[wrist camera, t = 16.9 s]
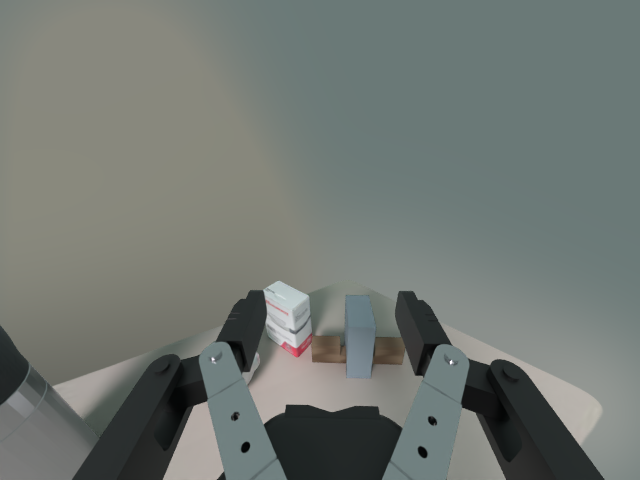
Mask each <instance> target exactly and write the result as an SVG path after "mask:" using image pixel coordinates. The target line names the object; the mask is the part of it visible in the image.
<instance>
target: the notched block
mask: <svg viewBox="0 0 640 480" xmlns="http://www.w3.org/2000/svg"><path fill="white" fill-rule="evenodd" d="M375 333H376V325H375V320H374V316H373V311H372V307H371V303H370V298H369V295H346V303H345V339H344V344H345V346H346V376H347V378H370V377H371V368H372V359H373V351H374V342H375Z"/></svg>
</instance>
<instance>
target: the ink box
mask: <svg viewBox="0 0 640 480" xmlns="http://www.w3.org/2000/svg"><path fill="white" fill-rule="evenodd" d="M263 291H264V295H265V301H266V306H267V319H266V322H265V323H266V328H267V334H268V337H269V338H271V339H272V340H273V341H275V342H276V343H277V344H279V345H280V346H282V347H283V348H284V349H286V350H287V351H288V352H290V353H291V354H293V355H294V356H295V357H299V356H300V355H301V354H302V353H303V352H304V350H305V349H306V348H307V347H308V346H309V345H310V344H311V342H312V326H311V313H310V300H309V296H308V295H306V294H304V293H302V292H300V291H298V290H297V289H294V288H293V287H290V286H289V285H286V284H285V283H283V282H281V281H276V282H275V283H273V284H272V285H270V286H268V287H267V288H265V289H264V290H263Z"/></svg>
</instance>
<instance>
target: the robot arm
mask: <svg viewBox="0 0 640 480" xmlns="http://www.w3.org/2000/svg"><path fill="white" fill-rule="evenodd" d="M395 317H396V322H397V325H398V328H399V331H400V333H401V336H402V339H403V342H404V345H405V348H406V351H407V353H408V356H409V359H410V362H411V365H412V368H413V371H414V373H415V376H423V378H424V379H423V380H422V382H421V385H420V387H419V390H418V392H417V395H416V397H415V400H414V402H413V405H412V407H411V410H410V412H409V415H408V417H407V420H406V422H405V425H404V427H403V428H401V427H400V426H399V425H398V424H397V423H395V422H394V421H392V420H391V419H389V418H387V417H385V416H382V415H380V414H379V409H378V407H376V406H354V407H350V408H347V409H343V410H340V411H336V412H328V411H325V410H322V409H319V408H316V407H313V406H310V405H286V410H285V413H281V414H279V415H277V416H275V417H273V418H272V419H270V420H269V421H267V422H266V423H265V424H264V425H263V423H262V420H261V418H260V415H259V413H258V411H257V408H256V406H255V403H254V401H253V399H252V396H251V394H250V391H249V389H248V386H247V384H246V382H245V379H244V378H243V377H242V373H243V372H250V370H251V367H252V364H253V361H254V357H255V354H256V351H257V348H258V345H259V341H260V338H261V335H262V332H263V329H264V325H265V322H266V319H267V306H266V301H265V295H264V291H263V290H250V292H249V293H248V296H247V298H246V299H240V300H239V301H238V302H237V303H236V304H235V305H234V307H233V309H232V311H231V313H230V314H229V316H228V319H227V320H226V323H225V324H224V326H223V328H222V330H221V332H220V334H219V336H218V338H217V340H216V342H215V343H213V344H211V345H209V346H208V347H206V348H205V349H204V350H203V351H202V353H201V354H200V355H198V356H195V357H191V358H187V359H184V360H180V358H179V357H178V356H177V355H174V354H169V355H165V356H162V357H160V358H158V359H157V360H155V361H154V362H153V363H151V364H150V365H149V367H148V368H147V369H146V371H145V372H144V374H143V375H142V377H141V378H140V380H139V381H138V383H137V384H136V385H135V387H134V388H133V390H132V391H131V393H130V394H129V396H128V397H127V399H126V400H125V402H124V403H123V405H122V406H121V408H120V409H119V411H118V412H117V414H116V415H115V416H114V418H113V419H112V421H111V422H110V424H109V425H108V427H107V428H106V430H105V431H104V433H103V434H102V436H101V437H100V438H99V437H98V436H97V435H96V434H95V433H94V432H93V430H92V429H91V428H90V427H89V426H88V425H87V424H86V423H85V422H84V420H83V419H82V418H81V417H80V416H79V415H78V414H77V413H76V412H75V411H74V410H73V409H72V408H71V407H70V406H69V404H68V403H67V402H66V401H65V400H64V399H63V398H62V397H61V396H60V395H59V394H58V393H57V392H56V391H55V389H54V388H53V387H52V386H50V384H49V383H48V382H47V381H46V380H45V379H44V378H43V377H42V376H41V375H40V374H39V373H38V372H37V371H36V370H35V368H34V367H32V365H31V364H30V363H29V362H28V361H27V360H26V359H25V358H24V357H23V356H22V355H21V354H20V352H19V351H18V350H17V349H16V347H15V345H14V344H13V342H12V340H11V339H10V337H9V336H8V334H7V333H6V332H5V331H4V329H3V328H2V327H1V326H0V480H163V477H164V475H165V473H166V470H167V468H168V466H169V463H170V461H171V458H172V456H173V454H174V451H175V449H176V447H177V444H178V442H179V439H180V437H181V435H182V432H183V430H184V428H185V425H186V423H187V420H188V418H189V416H190V413H191V411H192V409H193V406H194V405H197V404H200V403H203V402H206V401H207V402H208V407H209V411H210V415H211V419H212V423H213V427H214V431H215V435H216V439H217V444H218V448H219V452H220V456H221V460H222V464H223V468H224V472H223V473H222V474H221V475H220V477H219V478H218V479H217V480H446V477H447V472H448V468H449V463H450V459H451V454H452V450H453V445H454V441H455V436H456V432H457V427H458V423H459V419H460V414H461V409H462V408H465V409H468V410H471V411H473V412H475V413H476V415H477V417H478V419H479V421H480V423H481V426H482V428H483V430H484V432H485V434H486V437H487V439H488V441H489V443H490V445H491V447H492V450H493V452H494V454H495V456H496V458H497V460H498V463H499V465H500V467H501V469H502V471H503V474H504V476H505V478H506V480H604V478H603V477H602V476H601V474H600V473H599V472H598V470H597V469H596V467H595V466H594V465H593V463H592V462H591V460H590V459H589V458H588V456H587V455H586V454H585V452H584V451H583V450H582V448H581V447H580V446H579V444H578V443H577V441H576V440H575V439H574V437H573V436H572V435H571V433H570V432H569V431H568V429H567V428H566V427H565V425H564V424H563V422H562V421H561V420H560V418H559V417H558V416H557V414H556V413H555V412H554V410H553V409H552V407H551V406H550V405H549V403H548V402H547V401H546V399H545V398H544V397H543V395H542V394H541V393H540V391H539V390H538V388H537V387H536V386H535V384H534V383H533V382H532V380H531V379H530V378H529V376H528V375H527V374H526V373H525V372H524V371H523V370H522V369H521V368H520V367H518V366H517V365H515V364H513V363H511V362H509V361H506V360H501V359H497V360H494V361H492V363H491V365H487V364H484V363H480V362H477V361H473V360H470V359H468V358H467V357H466V355H465V354H464V353H463V352H462V351H461V350H459V349H458V348H456V347H454V346H452V344H451V342H450V341H449V339H448V337H447V335H446V333H445V332H444V330H443V328H442V326H441V325H440V323H439V322H438V319H437V318H436V316H435V314H434V313H433V311H432V309H431V307H430V306H429V305H428V304H427V303H426V302H424V301H423V300H417V297H416V295H415V293H414V292H413V291H399V293H398V298H397V304H396V309H395Z"/></svg>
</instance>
